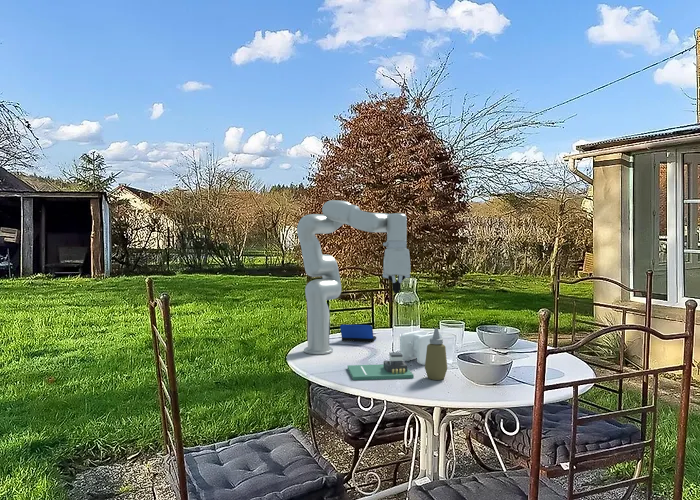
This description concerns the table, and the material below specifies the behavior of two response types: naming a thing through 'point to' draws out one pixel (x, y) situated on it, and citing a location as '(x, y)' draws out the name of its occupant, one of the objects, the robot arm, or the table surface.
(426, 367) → the squeeze bottle
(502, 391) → the table surface
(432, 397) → the table surface
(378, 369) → the board
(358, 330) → the laptop
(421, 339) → the cable organizer
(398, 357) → the plug
